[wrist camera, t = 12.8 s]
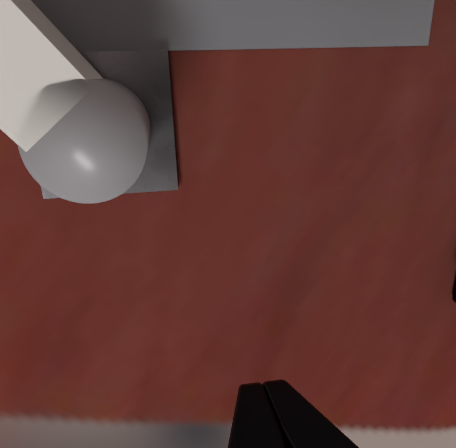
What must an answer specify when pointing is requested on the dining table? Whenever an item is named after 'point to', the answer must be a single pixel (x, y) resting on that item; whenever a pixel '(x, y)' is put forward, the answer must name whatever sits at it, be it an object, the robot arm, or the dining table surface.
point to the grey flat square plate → (155, 106)
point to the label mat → (238, 23)
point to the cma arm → (66, 111)
